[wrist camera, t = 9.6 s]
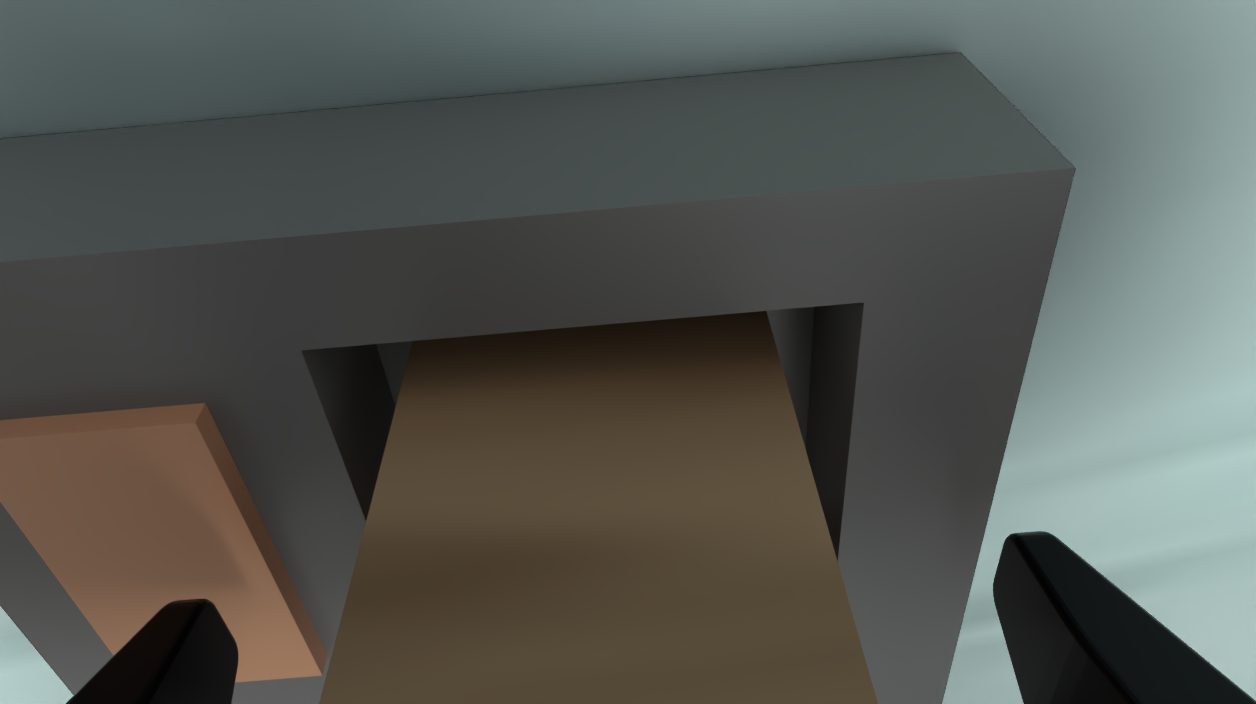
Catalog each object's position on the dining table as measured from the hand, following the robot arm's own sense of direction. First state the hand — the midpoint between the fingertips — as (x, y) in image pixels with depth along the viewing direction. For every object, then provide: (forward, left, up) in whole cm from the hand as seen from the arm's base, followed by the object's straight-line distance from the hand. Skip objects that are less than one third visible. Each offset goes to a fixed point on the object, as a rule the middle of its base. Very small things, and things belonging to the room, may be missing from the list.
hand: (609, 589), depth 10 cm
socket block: (-4, +2, -4) cm, 6 cm away
